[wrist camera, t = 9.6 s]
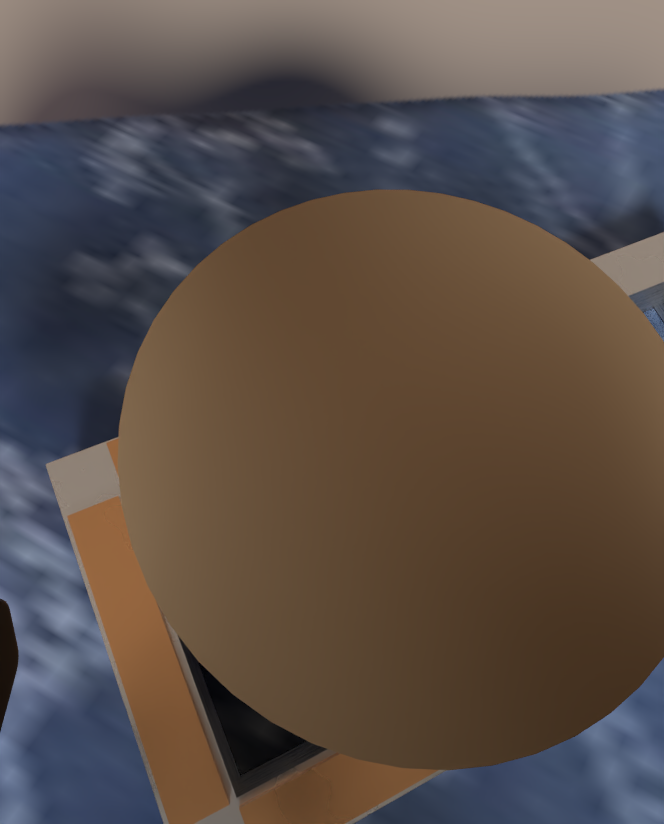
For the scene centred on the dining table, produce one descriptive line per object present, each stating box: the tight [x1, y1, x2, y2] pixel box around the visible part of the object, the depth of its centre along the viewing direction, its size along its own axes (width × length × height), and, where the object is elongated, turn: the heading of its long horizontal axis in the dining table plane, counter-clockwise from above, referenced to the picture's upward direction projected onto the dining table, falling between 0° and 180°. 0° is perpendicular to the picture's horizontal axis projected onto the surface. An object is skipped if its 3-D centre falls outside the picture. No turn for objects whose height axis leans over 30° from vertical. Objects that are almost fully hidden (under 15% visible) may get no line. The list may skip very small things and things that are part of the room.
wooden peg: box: [118, 190, 664, 770], centre depth 11 cm, size 5×5×13 cm
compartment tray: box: [46, 232, 664, 824], centre depth 17 cm, size 21×10×3 cm, turn 115°
